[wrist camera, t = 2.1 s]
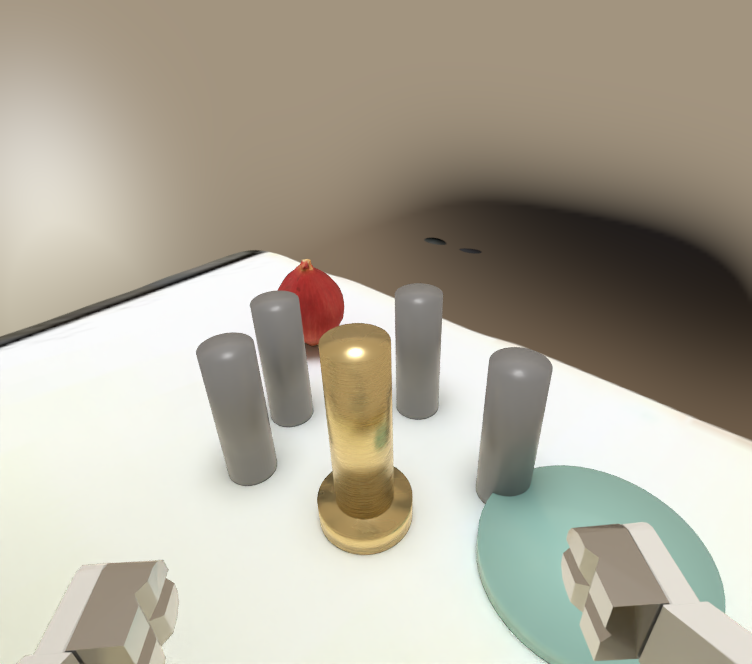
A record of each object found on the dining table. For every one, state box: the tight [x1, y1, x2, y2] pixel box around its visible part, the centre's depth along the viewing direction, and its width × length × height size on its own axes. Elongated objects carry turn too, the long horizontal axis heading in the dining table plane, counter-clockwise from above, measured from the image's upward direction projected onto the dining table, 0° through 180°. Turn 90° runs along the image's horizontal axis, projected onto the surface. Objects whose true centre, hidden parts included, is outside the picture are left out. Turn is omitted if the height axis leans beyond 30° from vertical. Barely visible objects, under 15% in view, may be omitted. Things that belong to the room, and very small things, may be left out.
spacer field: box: [196, 283, 552, 504], centre depth 30 cm, size 18×11×9 cm, turn 93°
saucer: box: [476, 465, 725, 664], centre depth 24 cm, size 11×11×1 cm
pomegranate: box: [278, 259, 344, 346], centre depth 41 cm, size 6×6×8 cm
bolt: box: [317, 323, 412, 555], centre depth 25 cm, size 5×5×12 cm
